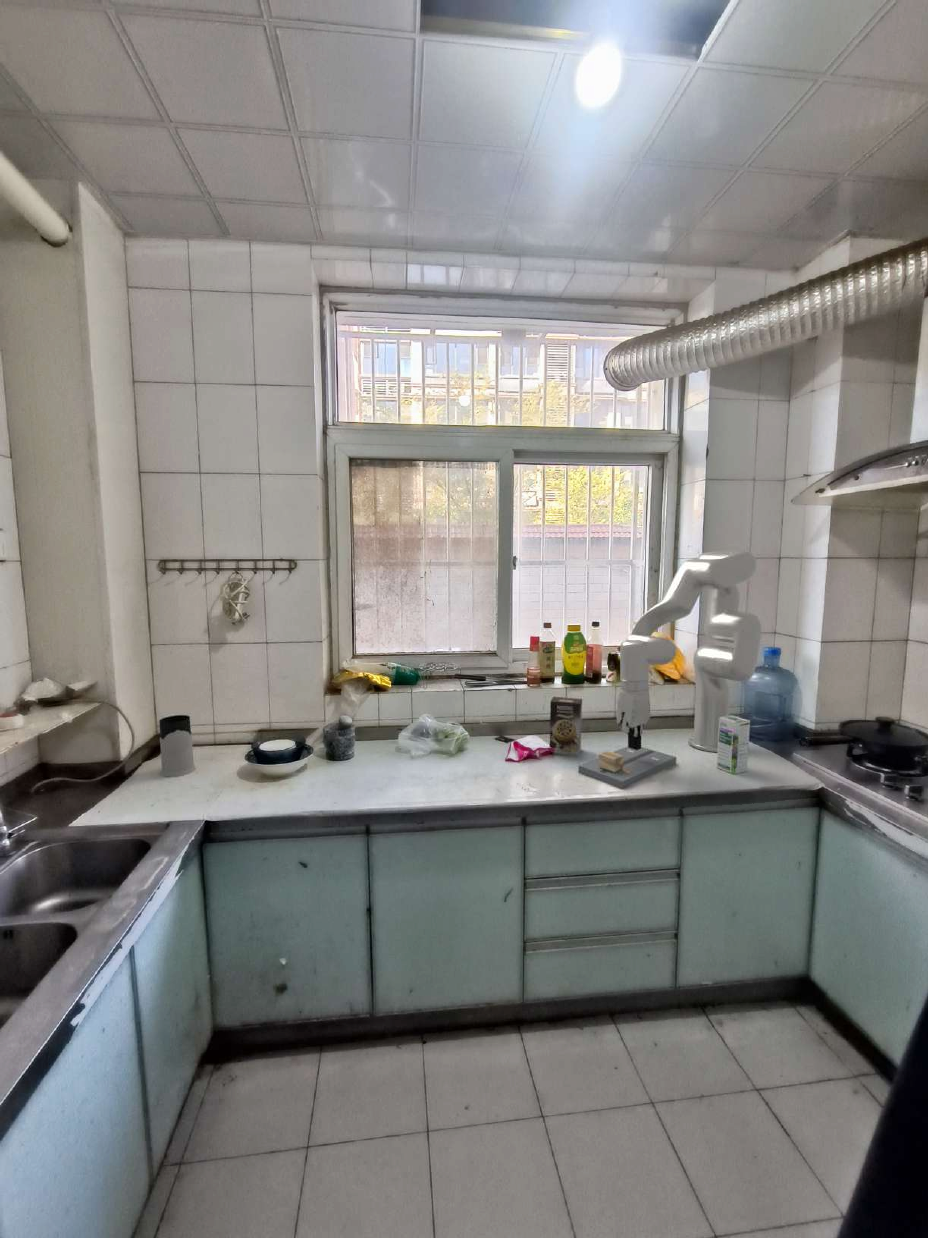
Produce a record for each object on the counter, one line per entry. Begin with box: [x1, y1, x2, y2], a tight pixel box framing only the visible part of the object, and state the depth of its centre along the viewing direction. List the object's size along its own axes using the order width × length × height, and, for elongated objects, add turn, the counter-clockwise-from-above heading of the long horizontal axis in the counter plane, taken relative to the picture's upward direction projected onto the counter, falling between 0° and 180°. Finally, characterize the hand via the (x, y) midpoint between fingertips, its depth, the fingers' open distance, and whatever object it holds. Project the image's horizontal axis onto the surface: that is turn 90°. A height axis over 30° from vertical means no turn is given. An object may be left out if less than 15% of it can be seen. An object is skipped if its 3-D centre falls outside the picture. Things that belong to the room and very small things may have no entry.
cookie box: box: [549, 696, 583, 757], centre depth 163 cm, size 9×6×16 cm
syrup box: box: [716, 714, 751, 775], centre depth 148 cm, size 6×6×14 cm
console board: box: [577, 745, 677, 790], centre depth 150 cm, size 26×14×2 cm, turn 129°
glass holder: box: [159, 714, 196, 778], centre depth 152 cm, size 9×14×15 cm, turn 36°
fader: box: [598, 750, 623, 772], centre depth 145 cm, size 4×5×4 cm
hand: (634, 748), depth 151 cm, fingers closed
